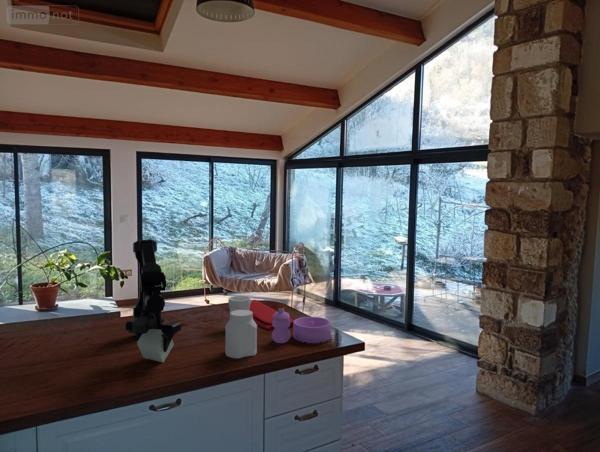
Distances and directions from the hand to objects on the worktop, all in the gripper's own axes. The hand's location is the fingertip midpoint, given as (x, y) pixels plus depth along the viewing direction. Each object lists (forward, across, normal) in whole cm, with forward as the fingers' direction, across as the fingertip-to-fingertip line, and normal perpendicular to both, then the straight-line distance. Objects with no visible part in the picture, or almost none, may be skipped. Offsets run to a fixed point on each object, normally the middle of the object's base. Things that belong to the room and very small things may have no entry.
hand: (153, 350), depth 156 cm
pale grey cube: (+1, 0, +4) cm, 4 cm away
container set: (+5, +41, +41) cm, 58 cm away
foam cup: (+4, +12, +45) cm, 47 cm away
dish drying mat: (+4, +14, +64) cm, 66 cm away
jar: (+5, +24, +18) cm, 31 cm away
